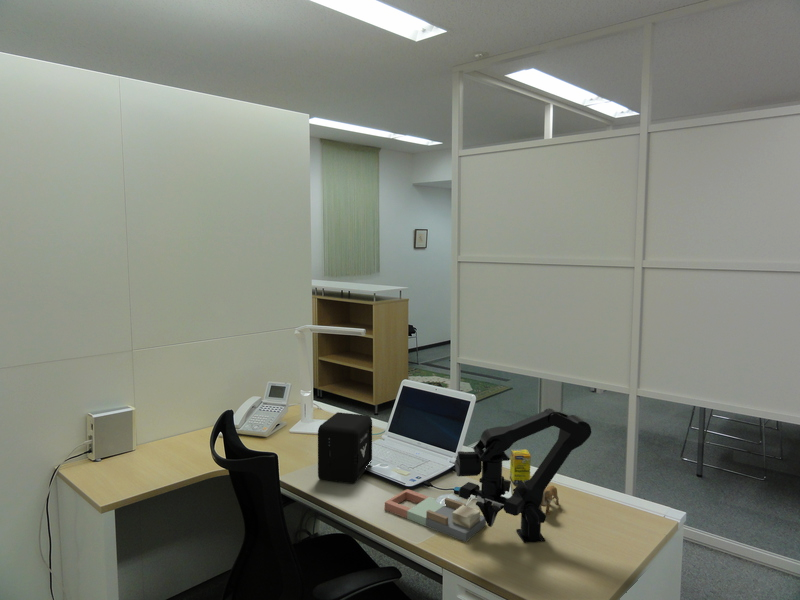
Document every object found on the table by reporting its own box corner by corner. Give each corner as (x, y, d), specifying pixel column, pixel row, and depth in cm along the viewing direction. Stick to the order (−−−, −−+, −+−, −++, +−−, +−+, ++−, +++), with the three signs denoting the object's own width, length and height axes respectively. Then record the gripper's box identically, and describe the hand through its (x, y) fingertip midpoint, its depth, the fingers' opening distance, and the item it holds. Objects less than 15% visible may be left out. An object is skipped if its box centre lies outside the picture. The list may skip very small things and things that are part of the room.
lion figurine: (551, 521, 164) (552, 493, 163) (533, 517, 166) (534, 489, 165) (560, 501, 177) (561, 475, 176) (544, 497, 179) (545, 472, 178)
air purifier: (355, 486, 186) (355, 431, 184) (317, 481, 190) (317, 427, 188) (374, 464, 205) (374, 414, 203) (339, 459, 209) (339, 410, 207)
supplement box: (513, 484, 189) (514, 455, 188) (509, 477, 195) (510, 448, 194) (530, 484, 189) (531, 455, 188) (525, 477, 195) (526, 449, 194)
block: (479, 520, 159) (480, 510, 158) (469, 528, 154) (470, 518, 154) (462, 514, 162) (462, 504, 162) (452, 522, 157) (452, 512, 157)
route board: (485, 524, 161) (486, 510, 160) (465, 541, 151) (466, 526, 151) (407, 496, 179) (407, 483, 179) (384, 509, 170) (384, 496, 169)
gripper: (534, 473, 152) (532, 525, 154) (477, 457, 164) (475, 505, 165) (517, 487, 143) (515, 541, 145) (458, 469, 155) (457, 520, 156)
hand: (490, 526), depth 153 cm, fingers closed
